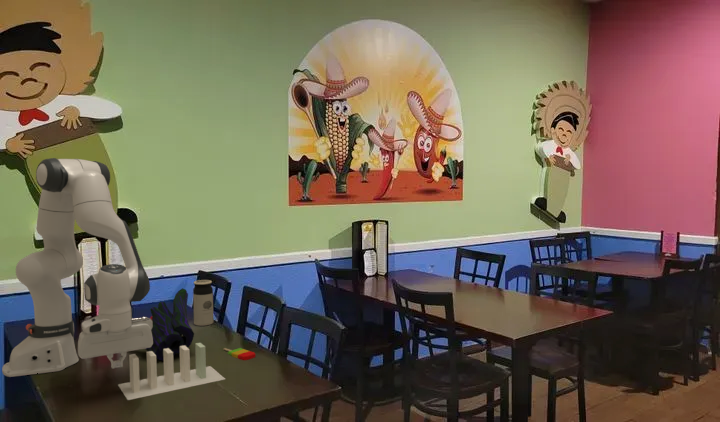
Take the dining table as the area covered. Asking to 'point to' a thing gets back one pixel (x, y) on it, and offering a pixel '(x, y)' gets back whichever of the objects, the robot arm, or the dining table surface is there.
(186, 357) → the domino
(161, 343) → the decorative plant
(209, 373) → the mat
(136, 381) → the domino
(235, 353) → the popsicle
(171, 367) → the domino
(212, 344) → the dining table surface
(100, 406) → the dining table surface
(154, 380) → the domino
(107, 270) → the robot arm
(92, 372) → the dining table surface
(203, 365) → the domino
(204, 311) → the travel mug
